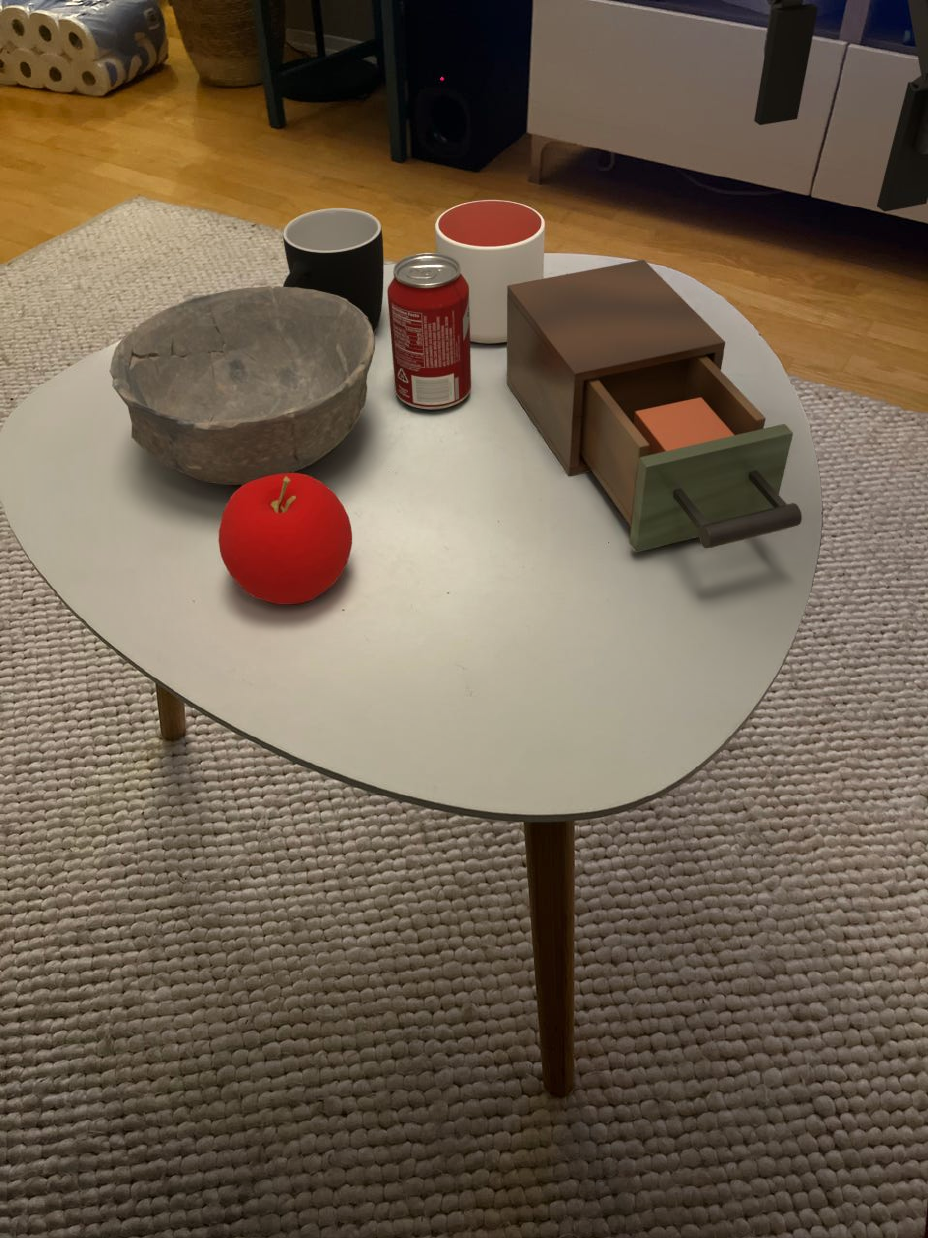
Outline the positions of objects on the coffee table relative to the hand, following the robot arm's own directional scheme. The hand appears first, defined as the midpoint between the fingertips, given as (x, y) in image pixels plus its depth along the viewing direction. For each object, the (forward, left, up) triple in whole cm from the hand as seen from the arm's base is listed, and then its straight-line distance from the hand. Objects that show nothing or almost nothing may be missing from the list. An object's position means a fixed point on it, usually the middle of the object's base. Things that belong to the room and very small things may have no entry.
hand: (833, 160), depth 64 cm
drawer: (+1, +6, -26) cm, 27 cm away
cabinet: (+16, +6, -27) cm, 32 cm away
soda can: (+24, +19, -27) cm, 41 cm away
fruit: (+4, +36, -27) cm, 45 cm away
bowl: (+21, +35, -27) cm, 49 cm away
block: (+3, +6, -25) cm, 26 cm away
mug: (+37, +25, -27) cm, 52 cm away
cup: (+34, +10, -27) cm, 44 cm away
